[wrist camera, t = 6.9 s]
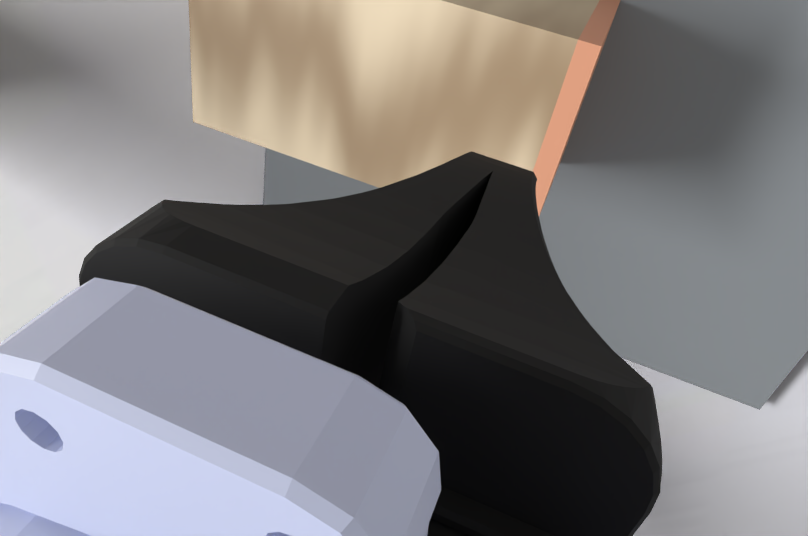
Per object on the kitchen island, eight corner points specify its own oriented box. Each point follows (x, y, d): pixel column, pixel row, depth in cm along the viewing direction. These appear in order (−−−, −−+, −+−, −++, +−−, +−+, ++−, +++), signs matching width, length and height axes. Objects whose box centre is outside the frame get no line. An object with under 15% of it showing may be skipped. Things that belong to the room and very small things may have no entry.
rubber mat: (758, 399, 22) (759, 409, 22) (268, 215, 26) (262, 221, 26) (1268, -234, 11) (1287, -236, 11) (299, -400, 15) (288, -407, 15)
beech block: (529, 240, 16) (192, 121, 18) (560, 163, 20) (281, 72, 21) (601, 46, 13) (186, -74, 15) (620, 0, 17) (290, -91, 18)
